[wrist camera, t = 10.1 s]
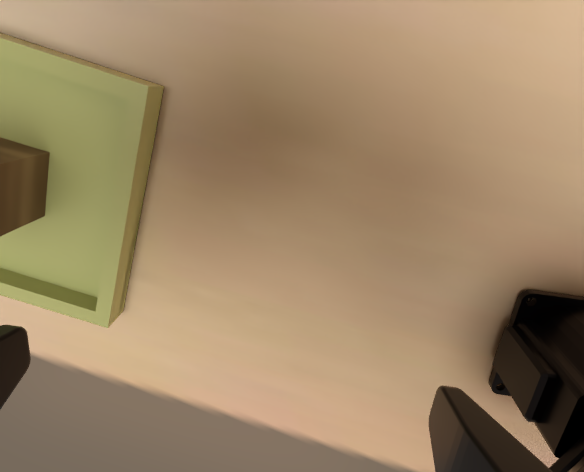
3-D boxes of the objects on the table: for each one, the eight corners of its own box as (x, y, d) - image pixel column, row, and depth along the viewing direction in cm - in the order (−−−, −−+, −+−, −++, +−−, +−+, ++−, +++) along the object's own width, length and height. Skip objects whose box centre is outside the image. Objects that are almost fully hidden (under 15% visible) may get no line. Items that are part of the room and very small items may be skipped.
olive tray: (163, 86, 19) (148, 86, 18) (123, 311, 24) (107, 328, 22) (-104, -2, 19) (-146, -11, 17) (-94, 244, 24) (-126, 256, 22)
